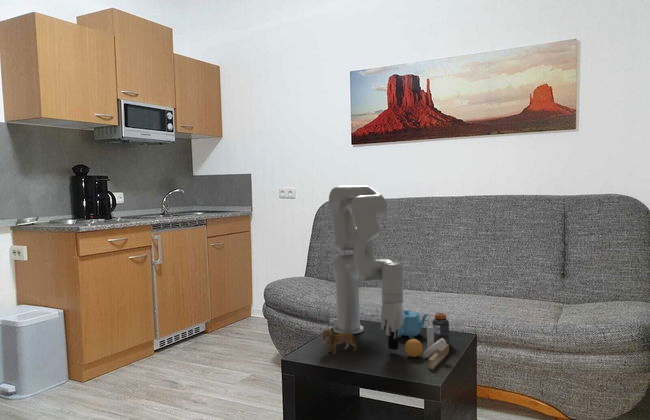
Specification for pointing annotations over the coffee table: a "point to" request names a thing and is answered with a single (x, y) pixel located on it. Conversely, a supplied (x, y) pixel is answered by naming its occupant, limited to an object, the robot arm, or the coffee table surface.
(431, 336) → the grey pin
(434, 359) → the tan wooden bar
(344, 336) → the lion figurine
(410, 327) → the teapot
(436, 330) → the pill bottle
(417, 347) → the ball
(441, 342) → the white pin
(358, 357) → the coffee table surface
